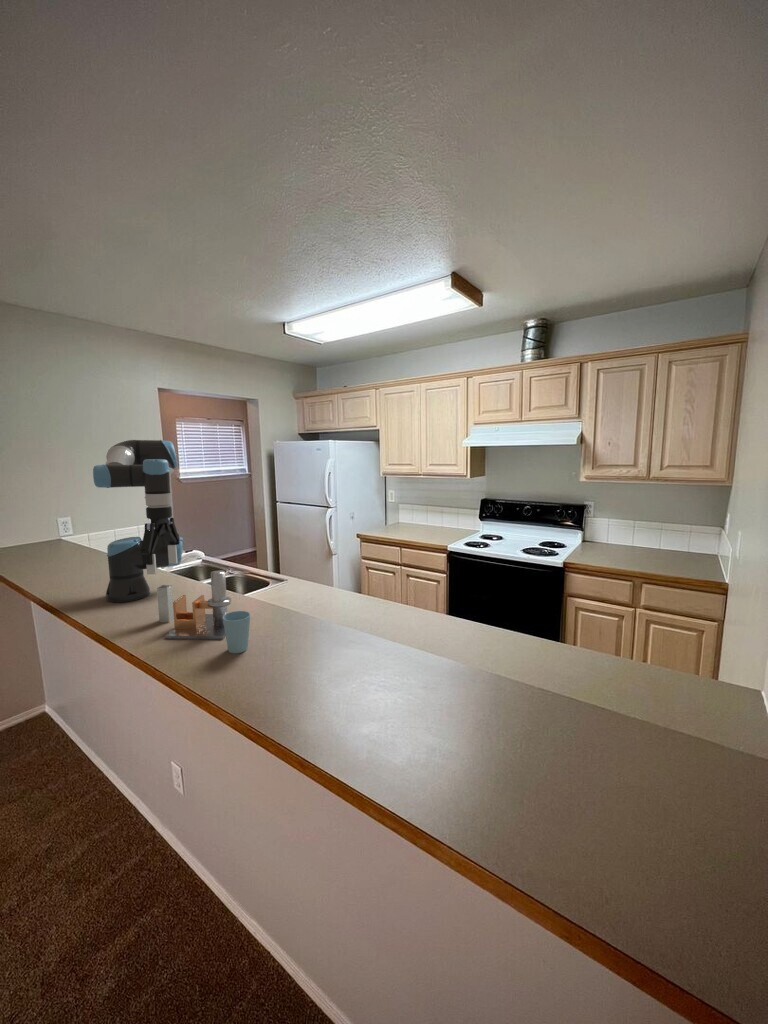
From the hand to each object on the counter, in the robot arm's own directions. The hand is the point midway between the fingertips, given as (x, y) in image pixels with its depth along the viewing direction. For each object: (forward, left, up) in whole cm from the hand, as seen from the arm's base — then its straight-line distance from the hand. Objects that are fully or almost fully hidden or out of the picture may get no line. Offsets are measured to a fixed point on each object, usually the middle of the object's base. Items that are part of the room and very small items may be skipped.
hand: (163, 568), depth 144 cm
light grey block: (0, 0, -18) cm, 19 cm away
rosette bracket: (+5, +16, -18) cm, 25 cm away
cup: (+21, +32, -19) cm, 43 cm away
